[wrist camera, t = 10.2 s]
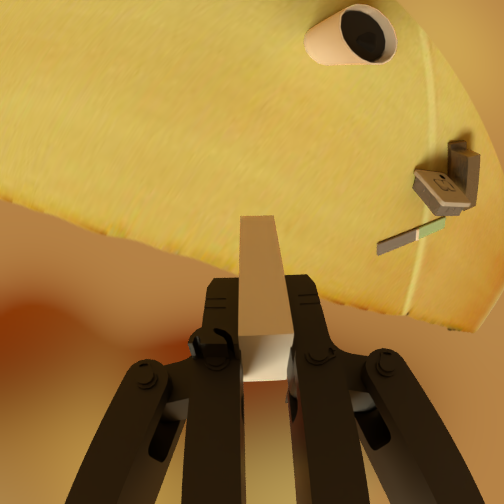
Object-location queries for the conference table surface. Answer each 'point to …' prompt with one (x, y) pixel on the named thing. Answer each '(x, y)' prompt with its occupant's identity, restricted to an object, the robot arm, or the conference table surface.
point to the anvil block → (464, 170)
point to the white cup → (352, 38)
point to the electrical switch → (439, 193)
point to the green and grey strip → (410, 236)
